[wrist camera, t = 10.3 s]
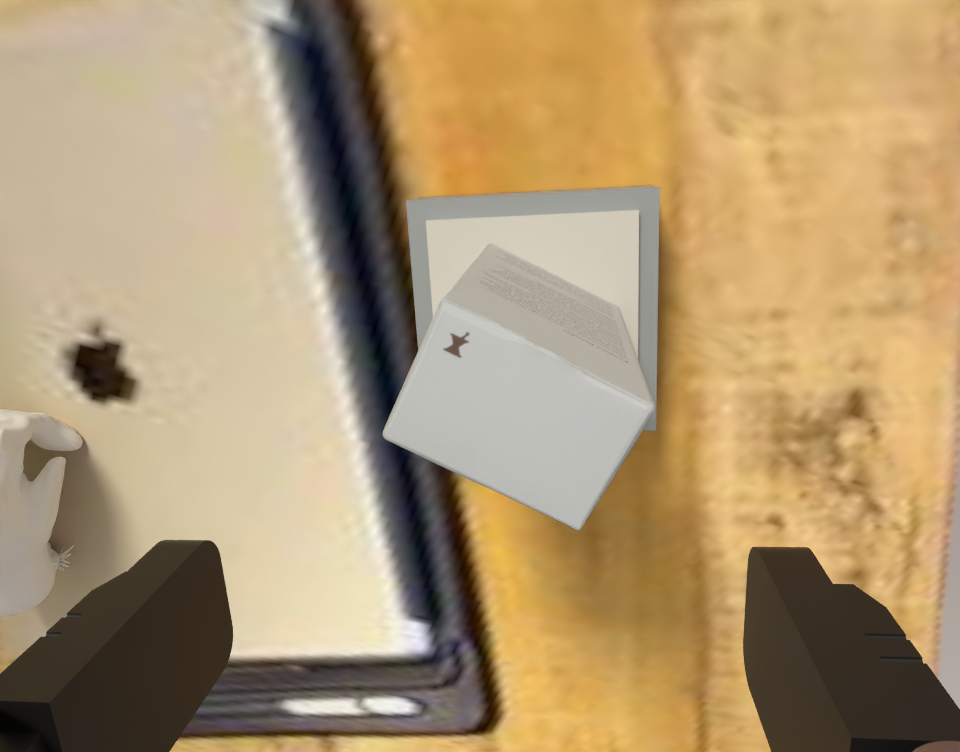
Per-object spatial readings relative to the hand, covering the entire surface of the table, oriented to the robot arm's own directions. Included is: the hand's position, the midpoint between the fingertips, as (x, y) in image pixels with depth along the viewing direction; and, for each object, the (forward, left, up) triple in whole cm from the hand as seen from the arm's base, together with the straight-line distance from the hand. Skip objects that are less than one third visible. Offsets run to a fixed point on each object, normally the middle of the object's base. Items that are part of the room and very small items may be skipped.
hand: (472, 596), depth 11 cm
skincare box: (0, 0, -20) cm, 20 cm away
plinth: (0, 0, -23) cm, 23 cm away
